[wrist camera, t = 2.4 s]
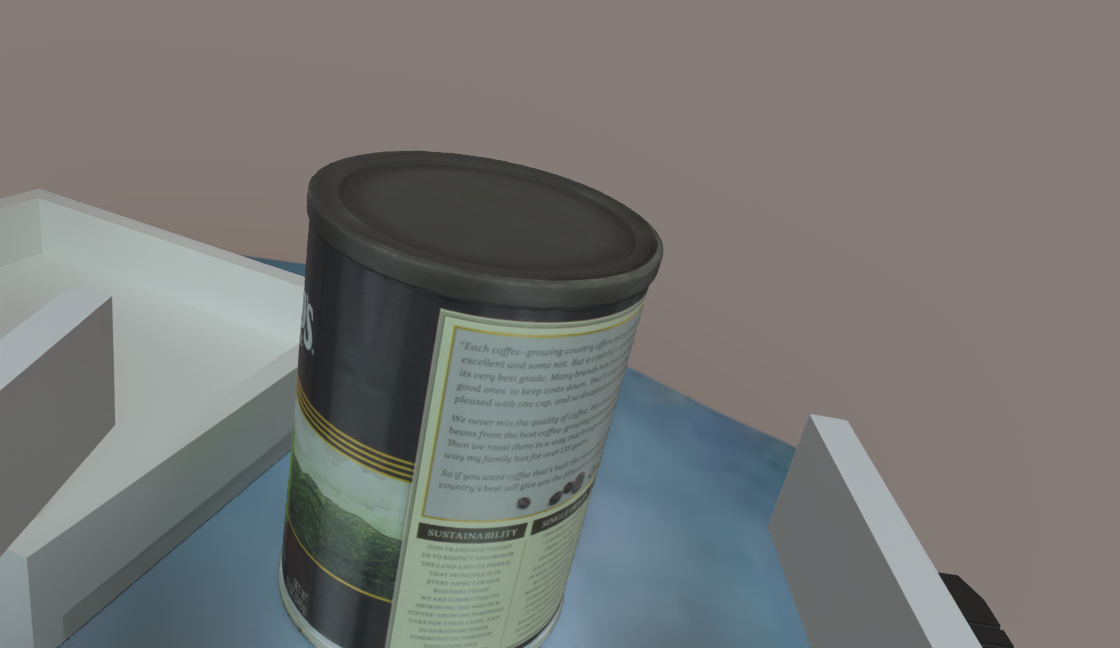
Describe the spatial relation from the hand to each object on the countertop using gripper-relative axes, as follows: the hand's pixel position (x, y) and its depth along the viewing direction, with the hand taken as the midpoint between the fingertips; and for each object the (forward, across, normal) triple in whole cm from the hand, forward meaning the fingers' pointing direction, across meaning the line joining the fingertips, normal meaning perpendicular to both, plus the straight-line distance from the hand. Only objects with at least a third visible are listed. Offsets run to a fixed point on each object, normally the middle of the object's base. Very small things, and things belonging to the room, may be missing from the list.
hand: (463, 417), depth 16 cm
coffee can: (+10, 0, -13) cm, 17 cm away
